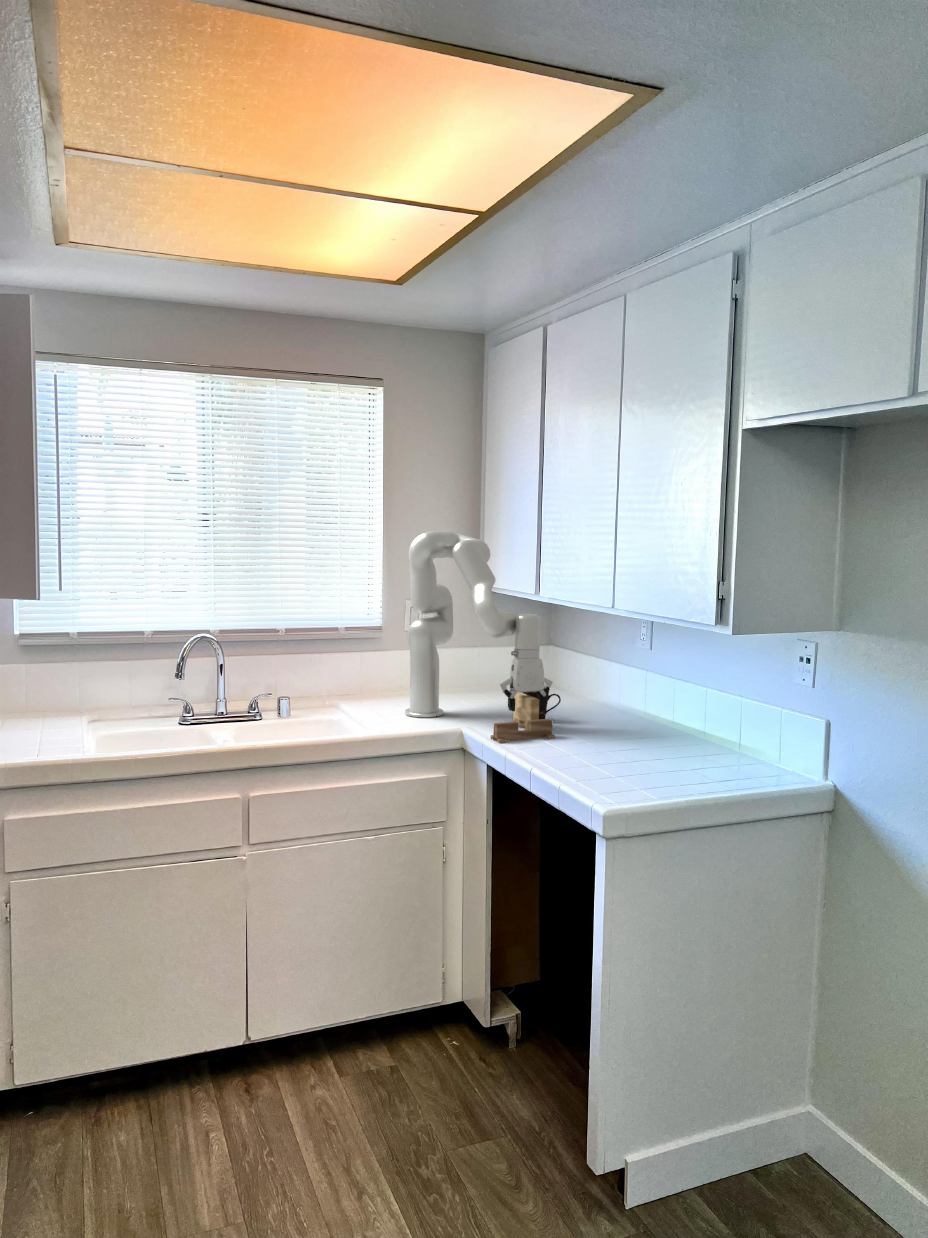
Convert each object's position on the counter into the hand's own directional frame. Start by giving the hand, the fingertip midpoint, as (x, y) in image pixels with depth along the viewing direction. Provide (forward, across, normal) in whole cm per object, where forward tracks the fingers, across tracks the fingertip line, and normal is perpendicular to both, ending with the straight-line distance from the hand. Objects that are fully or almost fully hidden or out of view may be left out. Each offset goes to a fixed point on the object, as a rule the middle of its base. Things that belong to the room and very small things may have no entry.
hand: (525, 709), depth 279 cm
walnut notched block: (+6, -7, -12) cm, 15 cm away
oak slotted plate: (+6, 0, 0) cm, 6 cm away
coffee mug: (+6, +9, +8) cm, 13 cm away
